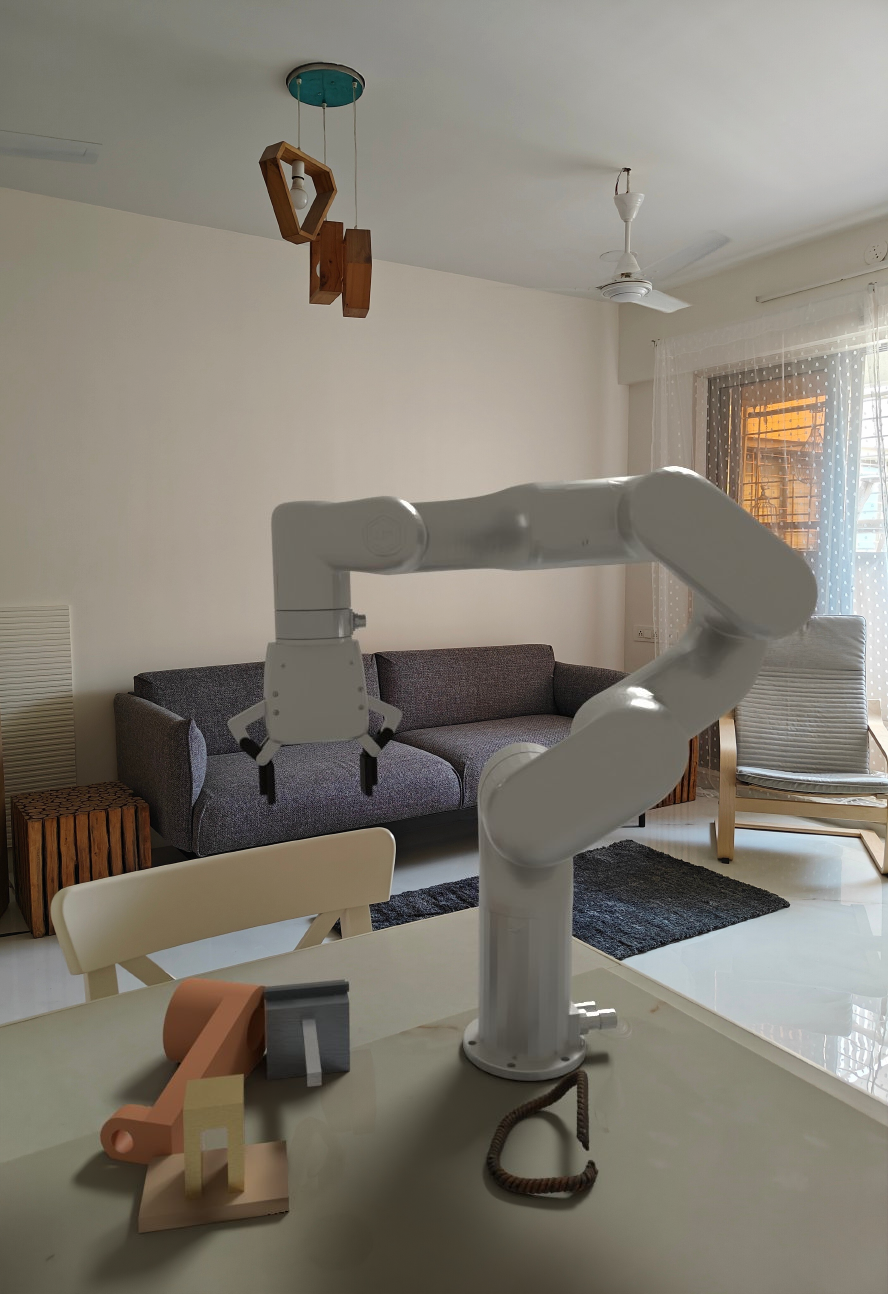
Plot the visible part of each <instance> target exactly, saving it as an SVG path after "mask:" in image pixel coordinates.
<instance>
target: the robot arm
mask: <svg viewBox="0 0 888 1294" xmlns="http://www.w3.org/2000/svg"><path fill="white" fill-rule="evenodd" d="M270 519H271V521H270V522H271V523H270V524H271V525H270V527H271V549H272V550H271V552H272V554H271V555H272V576H273V578H272V579H273V607H274V608H273V609H274V611H273V612H274V613H273V614H274V634H275V635H274V636H275V639H274V640H275V641H271V642H268V643H267V645H266V652H265V660H264V672H263V674H264V675H263V699H262V700H261V701H259V702H257V703H255V704H254V705H252V706H251V707H248V708H247V709H246V710H243V711H242V712H240V713H237V714H236V715H235V716H233V717H231V718H230V719H228V721H227V726H228V729H229V731H230V733H231V735H232V736H233V737H234V739H235V741H236V743H237V744H238V745H239V747H240V749H241V750H242V751H243V752H244V753H246V754H247V755H248V756H249V757H250V758H251V759H252V760H254V761H255V762H256V764H257V767H258V770H257V771H258V788H259V789H258V790H259V796H265V798H266V802H267V804H268V806H273V805H275V804H276V801H277V799H276V773H275V772H276V771H275V765H274V761H273V760H272V758H273V757H274V755H275V754H276V753H277V751H279V749H280V748H281V746H282V745H301V744H316V743H329V742H330V743H332V742H342V741H344V742H345V741H354V740H356V741H357V743H358V744H359V745H360V746H362V748H361V749H362V751H361V752H360V754H359V780H360V781H359V782H360V783H359V784H360V785H359V786H360V790H361V793H363V795H364V796H366V797H367V798H368V797H373V794H374V793H373V791H374V790H373V788H374V786H375V787H376V786H378V783H379V779H378V756H380V754H381V753H382V750H383V749H384V748H385V747H386V746H387V745H388V744H389V742H390V741H391V740H392V739H393V738H394V735H395V732H396V730H397V728H398V726H399V724H400V722H401V720H402V718H403V711H401V709H399V708H398V707H395V706H393V705H391V704H388V703H386V702H384V701H382V700H379V699H377V698H376V697H373V696H371V695H369V694H368V691H367V682H366V675H365V674H366V673H365V667H364V666H365V665H364V661H363V656H362V655H363V654H362V651H361V646H360V643H359V639H355V638H353V635H354V632H356V630H358V629H361V628H366V627H367V617H366V614H359V613H355V611H353V608H352V595H351V594H352V592H351V572H355V573H356V572H357V573H364V574H374V575H381V576H395V575H407V574H419V573H421V574H422V573H432V572H433V573H434V572H435V573H436V572H447V571H450V572H451V571H463V570H464V571H465V570H466V571H467V570H483V569H484V570H486V569H487V570H488V569H489V570H491V569H492V570H501V571H502V570H503V571H505V570H506V571H511V572H512V571H513V572H514V571H516V572H522V571H541V570H550V569H551V570H552V569H567V568H569V569H570V568H583V567H596V566H597V567H598V566H615V565H629V564H630V565H631V564H644V563H657V562H658V563H660V564H661V565H662V566H663V567H664V568H665V569H667V571H669V572H670V573H671V574H672V575H673V576H674V577H675V578H676V579H678V581H680V582H681V583H683V585H684V586H686V587H687V588H688V589H690V590H691V591H692V612H691V618H690V621H689V624H688V626H687V627H686V630H685V632H684V633H683V634H682V636H681V637H680V638H679V639H678V640H677V641H676V643H674V644H673V645H672V646H670V647H669V648H668V649H667V650H665V651H664V652H662V653H661V654H660V655H658V656H657V657H656V658H655V659H653V660H651V661H650V662H648V663H647V664H644V665H643V666H642V667H640V668H639V669H637V670H636V671H634V672H632V673H631V674H629V675H628V676H626V677H624V678H623V679H620V680H619V681H617V682H616V683H614V684H613V685H611V686H610V687H608V688H606V689H604V690H603V691H600V692H599V693H597V694H595V695H594V696H592V697H591V698H589V699H588V700H587V701H586V702H584V703H583V704H582V705H581V707H580V708H579V709H578V710H577V711H576V713H575V715H574V717H573V720H572V722H571V727H570V735H568V736H567V737H565V738H563V739H562V740H560V741H559V742H557V743H556V744H554V745H552V746H551V747H549V748H548V747H546V746H544V745H542V744H538V743H536V742H530V741H529V742H527V741H521V742H520V741H519V742H513V743H511V744H507V745H506V746H503V747H502V748H499V749H498V750H497V751H496V752H495V753H493V755H492V756H491V757H490V758H489V759H488V760H487V762H486V763H485V765H484V767H482V768H483V769H482V770H481V773H480V776H479V780H478V785H477V786H478V787H477V818H478V820H477V822H478V827H477V828H478V890H479V891H478V948H477V949H478V951H477V952H478V958H477V959H478V973H477V974H478V975H477V976H478V978H477V979H478V980H477V981H478V986H477V987H478V991H477V993H478V994H477V995H478V996H477V997H478V999H477V1000H478V1001H477V1003H478V1004H477V1009H478V1010H477V1017H476V1018H475V1019H473V1020H472V1021H471V1022H470V1023H469V1024H468V1025H467V1026H466V1028H465V1029H464V1031H463V1036H462V1043H463V1044H462V1048H463V1051H464V1053H465V1055H466V1057H467V1058H468V1060H469V1061H470V1062H471V1063H472V1064H474V1065H475V1066H476V1067H478V1068H479V1069H481V1070H483V1071H484V1072H487V1073H489V1074H491V1075H494V1076H496V1077H500V1078H504V1079H508V1080H516V1081H529V1082H532V1081H536V1082H537V1081H545V1080H551V1079H555V1078H559V1077H561V1076H566V1074H567V1075H568V1074H570V1073H572V1072H574V1071H575V1070H576V1069H577V1068H578V1067H579V1066H580V1065H581V1064H582V1063H583V1061H584V1060H585V1058H586V1055H587V1039H586V1036H585V1035H588V1034H589V1031H593V1030H595V1031H596V1030H598V1031H600V1030H611V1029H612V1030H613V1029H616V1028H617V1026H618V1017H617V1013H616V1011H615V1009H614V1008H603V1009H597V1006H596V1003H595V1001H594V1000H591V1001H590V1000H589V1001H582V1002H576V1003H574V1001H573V1000H572V978H573V977H572V975H573V974H572V971H573V968H572V967H573V964H572V963H573V961H572V960H573V904H574V857H575V856H577V855H579V854H580V853H582V852H584V851H585V850H587V849H588V848H590V847H592V846H593V845H595V844H596V843H598V842H599V841H602V840H604V838H606V837H608V836H609V835H611V834H613V833H614V832H616V831H618V830H619V829H621V828H622V827H624V826H625V825H627V824H629V823H630V822H633V820H635V819H636V818H638V817H639V816H641V815H643V814H645V813H646V812H647V811H649V810H650V809H652V808H654V807H655V806H657V804H659V803H660V802H661V801H663V800H664V799H665V798H666V797H668V795H670V794H671V793H672V791H673V790H674V789H675V788H676V786H678V784H679V783H680V782H681V780H682V777H683V776H684V774H685V771H686V770H687V767H688V763H689V758H690V757H689V756H690V745H689V744H690V743H689V741H690V740H691V739H693V738H694V737H696V736H698V735H699V734H700V733H702V732H703V731H704V730H706V729H707V728H709V727H710V726H712V725H713V724H714V723H716V722H717V721H718V720H720V719H722V718H723V717H725V716H726V715H727V714H728V713H730V712H731V711H732V710H733V709H735V708H736V707H737V706H738V705H739V704H740V703H741V702H742V701H743V700H744V699H745V698H746V697H747V695H748V694H749V693H750V691H751V690H752V688H753V686H754V685H755V684H756V681H757V679H758V677H759V675H760V672H761V670H762V667H763V665H764V661H765V658H766V653H767V649H768V645H769V641H771V642H772V641H779V640H783V639H785V638H787V637H789V636H792V635H794V634H795V633H797V632H799V631H800V630H801V629H802V628H803V627H805V625H807V624H808V622H809V621H810V619H811V618H812V617H813V614H814V611H815V609H816V608H817V607H816V606H817V603H818V602H817V601H818V592H819V591H818V590H819V589H818V583H817V580H816V577H815V575H814V573H813V570H812V567H810V565H809V564H808V562H807V561H806V560H805V559H804V558H803V556H801V554H799V553H798V552H797V551H796V549H794V548H793V547H792V546H790V545H789V544H788V543H787V542H786V541H784V539H782V538H781V537H780V536H778V535H777V533H775V532H773V531H772V530H771V529H769V528H768V527H767V526H766V525H764V524H763V523H762V522H761V521H760V520H758V518H757V517H755V516H754V515H752V514H751V513H750V512H748V511H747V510H746V509H745V508H744V507H743V506H742V505H740V504H739V503H737V502H736V500H734V499H733V498H731V496H730V495H728V494H727V493H726V492H724V491H723V490H721V489H720V488H719V487H718V486H717V485H715V483H712V481H710V480H708V479H707V478H706V477H704V476H702V475H701V474H699V473H697V472H695V471H693V470H691V469H689V468H684V467H680V466H665V467H664V466H663V467H660V468H659V467H658V468H656V469H654V470H652V471H650V472H648V473H646V474H640V475H628V476H627V475H626V476H616V477H615V476H614V477H605V478H593V479H592V478H590V479H589V478H588V479H576V480H557V481H556V480H555V481H538V482H537V481H536V482H527V483H522V484H518V485H517V484H516V485H513V486H510V487H507V488H504V489H501V490H498V491H496V492H492V493H488V494H485V495H478V496H474V497H467V498H459V499H449V500H446V499H445V500H437V501H436V500H435V501H419V502H408V501H406V500H404V499H403V498H399V497H397V496H390V495H389V496H388V495H380V496H379V495H378V496H371V497H366V498H360V499H355V500H347V501H339V502H338V501H337V502H333V501H329V500H328V501H327V500H297V501H296V500H295V501H288V502H283V503H280V504H278V505H277V506H275V507H274V509H273V511H272V514H271V518H270ZM369 710H370V711H373V712H375V713H376V714H378V715H381V716H383V717H384V721H383V722H382V723H383V724H382V726H381V727H380V728H379V729H378V730H377V731H376V732H375V734H374V735H372V737H371V736H370V735H369V734H368V732H369V726H370V717H369V715H370V713H369V712H370V711H369ZM261 718H263V723H264V724H263V726H264V731H265V734H267V735H266V737H265V738H264V739H263V741H262V742H261V743H260V745H259V744H258V743H257V742H256V741H255V740H254V739H252V738H251V737H250V736H249V734H248V732H247V730H246V728H247V727H248V725H251V724H252V723H254V722H255V721H258V720H259V719H261Z"/></svg>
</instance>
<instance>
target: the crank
mask: <svg viewBox="0 0 888 1294" xmlns="http://www.w3.org/2000/svg"><path fill="white" fill-rule="evenodd" d="M266 987H267V986H265V985H260V984H250V983H242V982H234V981H233V982H232V981H227V980H226V981H224V980H215V979H208V978H201V977H200V978H198V977H187V978H186V979H183V981H182V982H180V983H179V985H178V986H177V988H176V989H175V991H174V992H173V994H172V996H171V998H170V1000H169V1003H168V1006H167V1009H166V1012H165V1017H164V1020H163V1029H162V1044H163V1046H162V1047H163V1051H164V1054H165V1055H166V1058H167V1059H168V1060H169V1061H170V1062H172V1063H180V1064H179V1066H178V1068H177V1069H176V1071H175V1073H174V1074H173V1075H172V1077H171V1079H169V1082H168V1083H167V1085H166V1086H165V1088H164V1089H163V1091H162V1092H161V1094H160V1095H159V1097H158V1098H157V1100H156V1101H155V1103H154V1105H153V1106H147V1105H140V1104H135V1103H134V1104H133V1103H132V1104H131V1103H130V1104H125V1105H122V1106H121V1107H119V1109H118V1110H116V1112H114V1114H112V1116H111V1117H109V1119H108V1120H106V1121H105V1122H104V1124H103V1125H102V1128H101V1130H100V1133H99V1139H100V1145H101V1146H102V1148H103V1150H104V1151H105V1153H106V1154H107V1155H108V1156H109V1157H110V1158H111V1159H112V1160H118V1161H124V1162H129V1163H135V1164H142V1165H146V1166H148V1164H149V1158H150V1157H157V1156H165V1155H173V1154H181V1153H184V1124H183V1107H184V1100H185V1093H186V1086H187V1080H195V1079H204V1078H213V1077H222V1076H231V1075H240V1074H244V1081H245V1080H246V1079H247V1078H248V1076H249V1075H250V1074H251V1073H252V1071H253V1070H254V1069H255V1067H257V1066H258V1064H259V1062H260V1061H261V1060H262V1059H263V1057H264V1055H265V1052H266V1051H267V1044H266V1000H264V989H266Z"/></svg>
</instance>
